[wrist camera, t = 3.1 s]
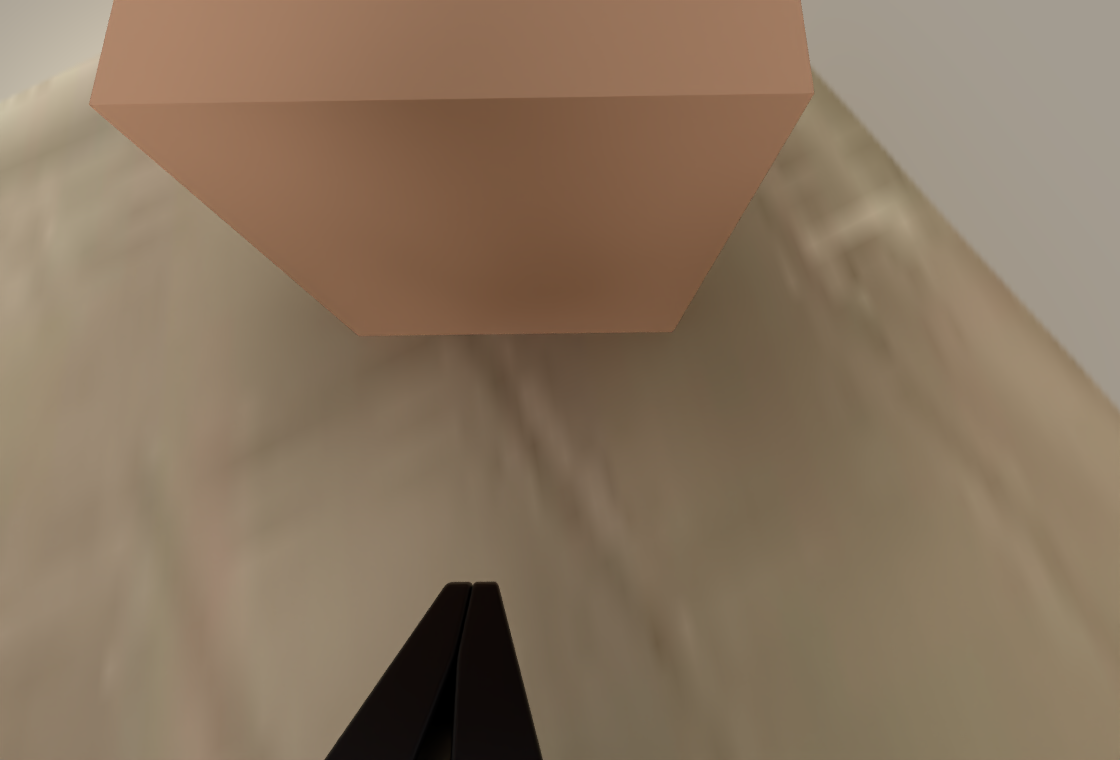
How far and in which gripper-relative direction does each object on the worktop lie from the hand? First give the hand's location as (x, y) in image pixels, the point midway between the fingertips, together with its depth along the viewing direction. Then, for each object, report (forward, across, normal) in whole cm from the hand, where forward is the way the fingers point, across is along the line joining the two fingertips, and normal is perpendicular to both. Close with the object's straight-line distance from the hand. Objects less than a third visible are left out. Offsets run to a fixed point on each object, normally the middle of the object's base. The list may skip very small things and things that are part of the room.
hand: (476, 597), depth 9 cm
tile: (+10, 0, -1) cm, 10 cm away
